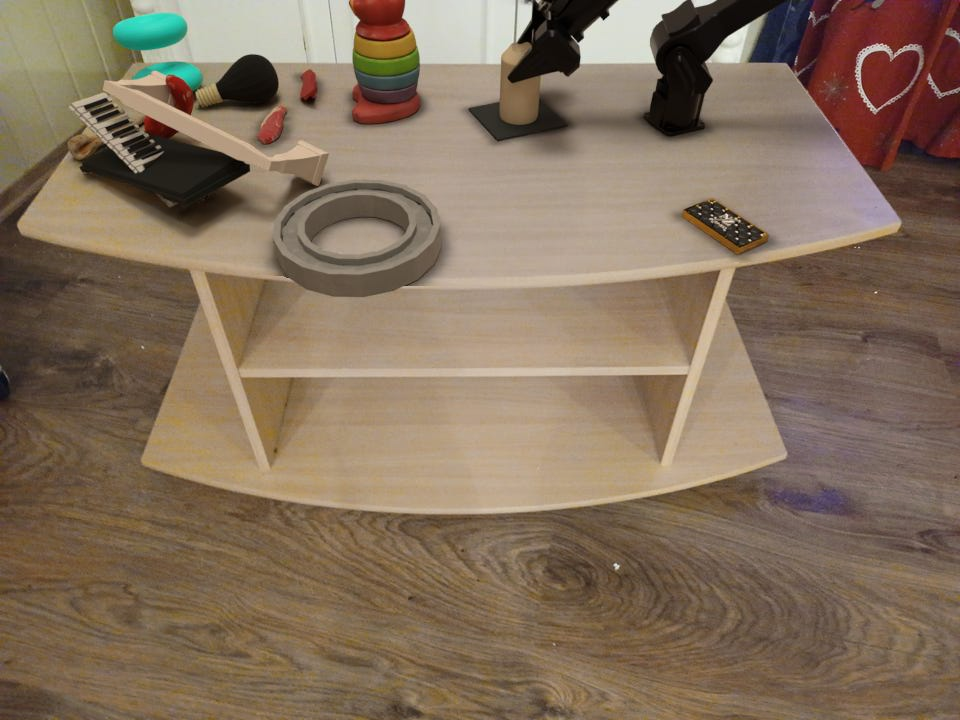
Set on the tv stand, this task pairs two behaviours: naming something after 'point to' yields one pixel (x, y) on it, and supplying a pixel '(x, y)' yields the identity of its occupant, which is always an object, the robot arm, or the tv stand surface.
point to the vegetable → (182, 103)
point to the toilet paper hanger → (213, 129)
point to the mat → (504, 130)
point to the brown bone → (94, 141)
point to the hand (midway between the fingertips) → (509, 69)
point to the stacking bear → (384, 62)
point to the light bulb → (243, 83)
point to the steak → (272, 125)
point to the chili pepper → (309, 85)
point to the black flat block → (725, 226)
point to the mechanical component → (357, 270)
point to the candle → (517, 89)
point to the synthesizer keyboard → (154, 158)
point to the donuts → (157, 43)
